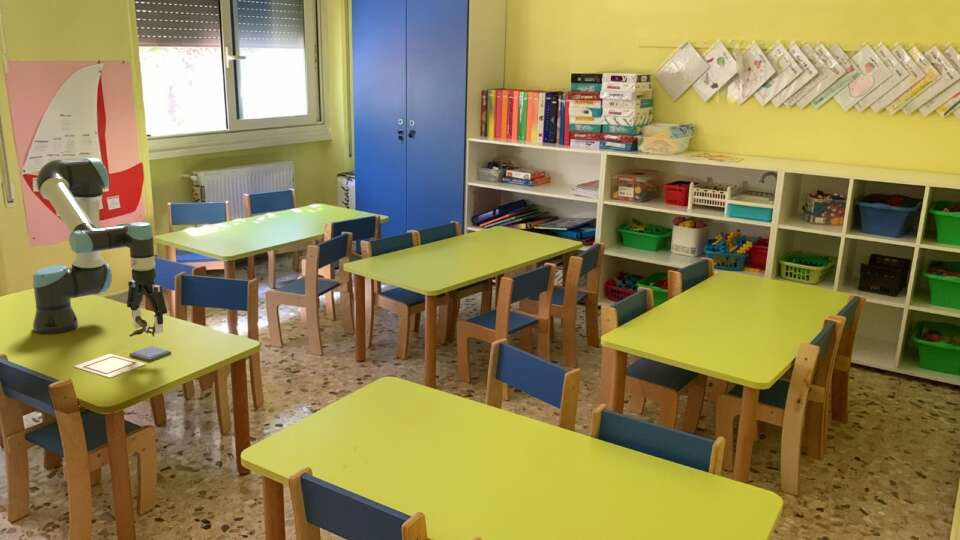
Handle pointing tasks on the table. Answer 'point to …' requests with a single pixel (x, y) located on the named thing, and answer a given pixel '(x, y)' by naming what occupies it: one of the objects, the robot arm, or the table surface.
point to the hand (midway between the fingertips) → (148, 330)
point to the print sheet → (109, 365)
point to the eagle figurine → (145, 327)
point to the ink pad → (150, 353)
